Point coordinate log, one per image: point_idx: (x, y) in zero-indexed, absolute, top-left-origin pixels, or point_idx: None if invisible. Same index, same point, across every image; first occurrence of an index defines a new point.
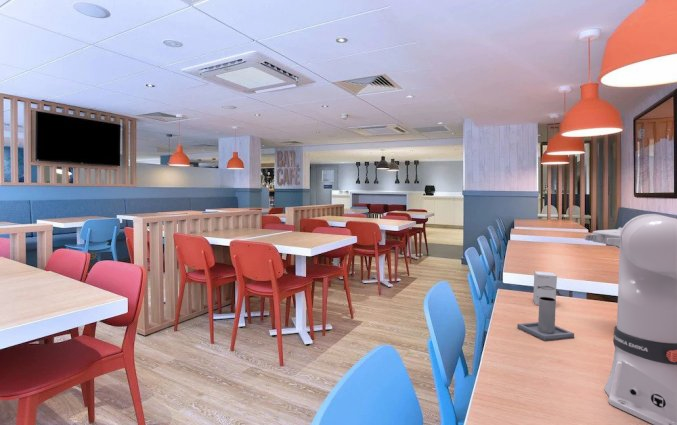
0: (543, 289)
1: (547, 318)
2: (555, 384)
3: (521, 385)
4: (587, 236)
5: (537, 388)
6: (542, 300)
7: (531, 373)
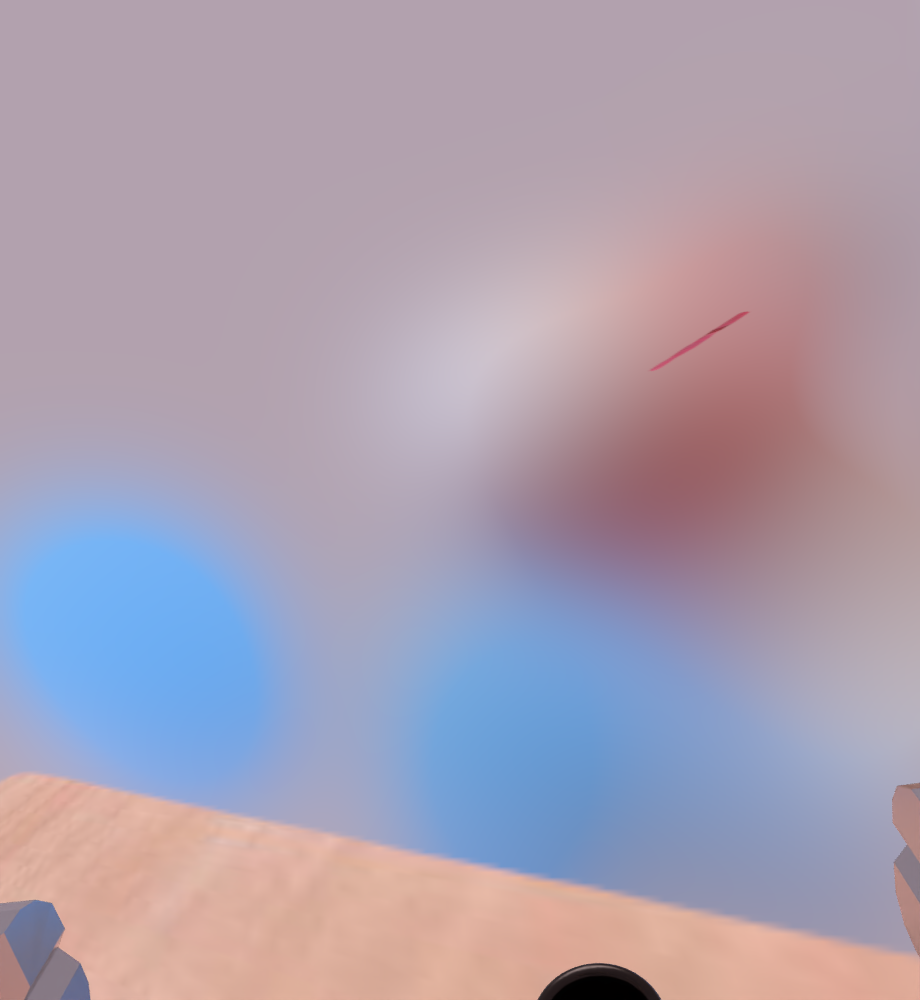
0: None
1: None
2: None
3: (70, 884)
4: (906, 804)
5: None
6: (561, 977)
7: (124, 935)
